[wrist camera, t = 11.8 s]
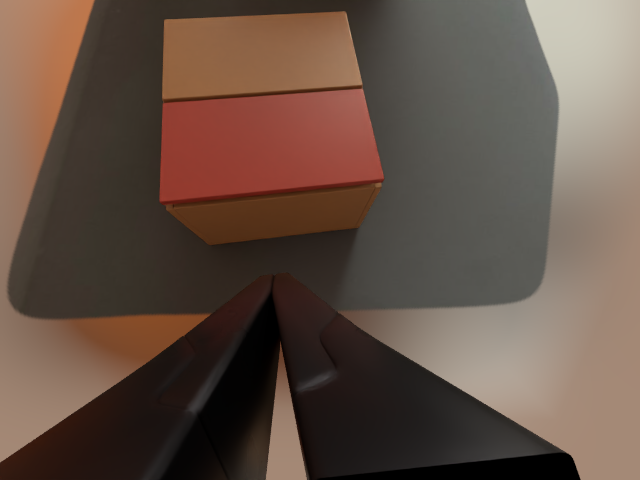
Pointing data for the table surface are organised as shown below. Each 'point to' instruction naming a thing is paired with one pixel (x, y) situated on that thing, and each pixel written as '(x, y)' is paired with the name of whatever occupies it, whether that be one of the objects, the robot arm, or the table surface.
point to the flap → (266, 145)
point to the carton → (262, 80)
